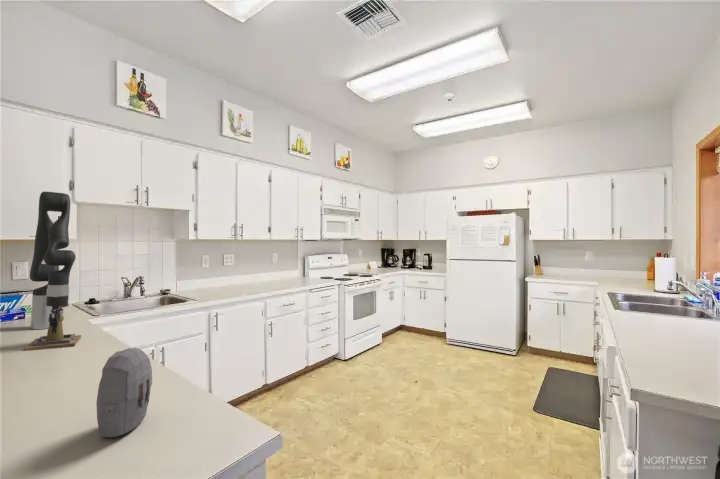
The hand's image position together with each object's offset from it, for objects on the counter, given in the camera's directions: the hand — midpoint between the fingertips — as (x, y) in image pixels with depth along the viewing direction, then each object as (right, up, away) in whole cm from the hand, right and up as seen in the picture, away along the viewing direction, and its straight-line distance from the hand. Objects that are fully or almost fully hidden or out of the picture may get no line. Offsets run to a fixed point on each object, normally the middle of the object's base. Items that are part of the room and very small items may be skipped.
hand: (55, 333), depth 154 cm
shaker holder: (0, -4, 0) cm, 4 cm away
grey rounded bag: (+77, -6, -67) cm, 102 cm away
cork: (0, -3, 0) cm, 3 cm away
